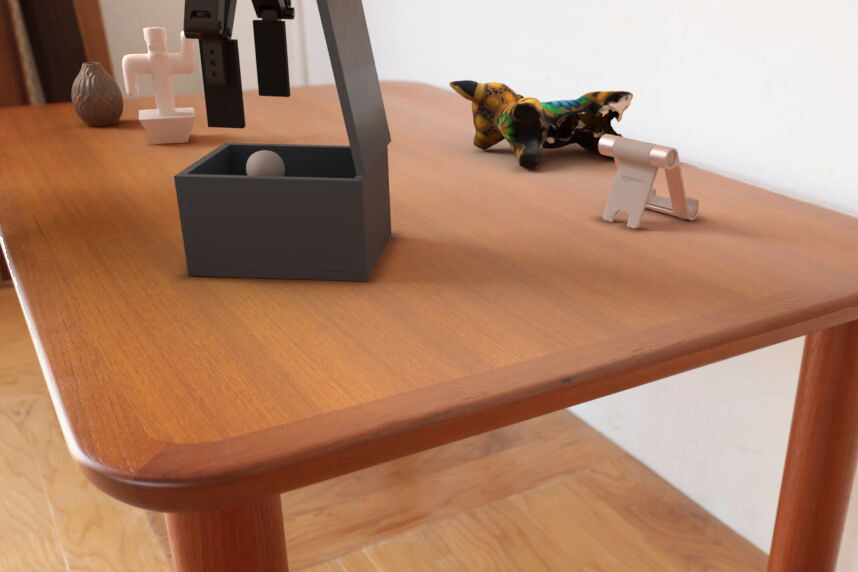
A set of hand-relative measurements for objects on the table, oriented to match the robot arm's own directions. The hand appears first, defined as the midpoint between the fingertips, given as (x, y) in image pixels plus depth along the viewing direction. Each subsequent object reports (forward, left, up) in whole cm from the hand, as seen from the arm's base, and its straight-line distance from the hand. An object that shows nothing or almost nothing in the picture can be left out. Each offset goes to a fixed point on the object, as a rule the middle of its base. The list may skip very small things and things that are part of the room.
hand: (252, 110), depth 76 cm
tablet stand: (+39, +6, -14) cm, 41 cm away
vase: (-24, +66, -14) cm, 72 cm away
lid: (+8, -1, +4) cm, 9 cm away
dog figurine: (+36, +36, -14) cm, 52 cm away
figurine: (-13, +53, -14) cm, 56 cm away
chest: (+3, +1, -13) cm, 14 cm away
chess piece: (0, +1, -13) cm, 13 cm away
